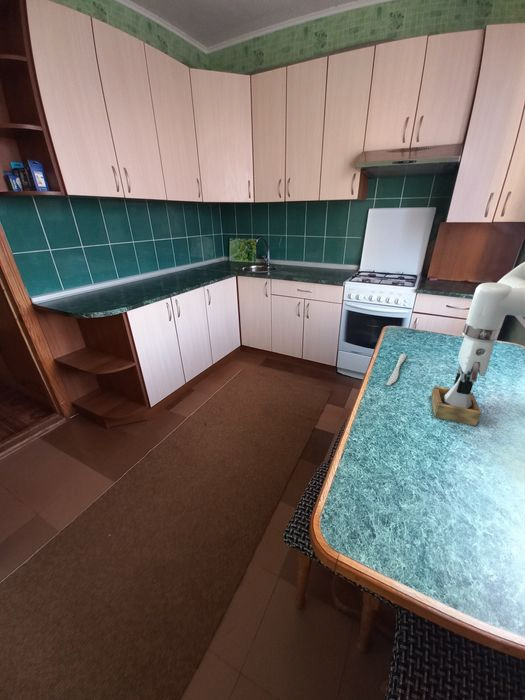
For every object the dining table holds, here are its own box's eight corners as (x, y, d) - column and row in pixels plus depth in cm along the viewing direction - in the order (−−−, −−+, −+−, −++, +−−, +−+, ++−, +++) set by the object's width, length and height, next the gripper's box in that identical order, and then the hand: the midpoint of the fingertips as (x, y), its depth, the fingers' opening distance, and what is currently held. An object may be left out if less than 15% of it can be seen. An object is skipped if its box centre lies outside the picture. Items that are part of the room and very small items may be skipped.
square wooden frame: (468, 404, 90) (472, 392, 88) (476, 425, 82) (481, 413, 80) (430, 397, 94) (434, 385, 92) (434, 417, 85) (438, 405, 83)
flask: (468, 412, 82) (479, 383, 77) (440, 402, 86) (449, 374, 82) (474, 400, 86) (484, 372, 82) (446, 391, 91) (455, 364, 86)
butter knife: (409, 354, 118) (401, 352, 120) (392, 386, 99) (384, 383, 100) (409, 356, 118) (401, 353, 120) (392, 388, 99) (383, 385, 101)
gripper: (508, 346, 68) (484, 409, 76) (489, 321, 81) (470, 377, 90) (470, 342, 70) (451, 403, 79) (458, 318, 84) (442, 373, 92)
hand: (461, 388), depth 84 cm, fingers closed on flask, 3 cm apart
